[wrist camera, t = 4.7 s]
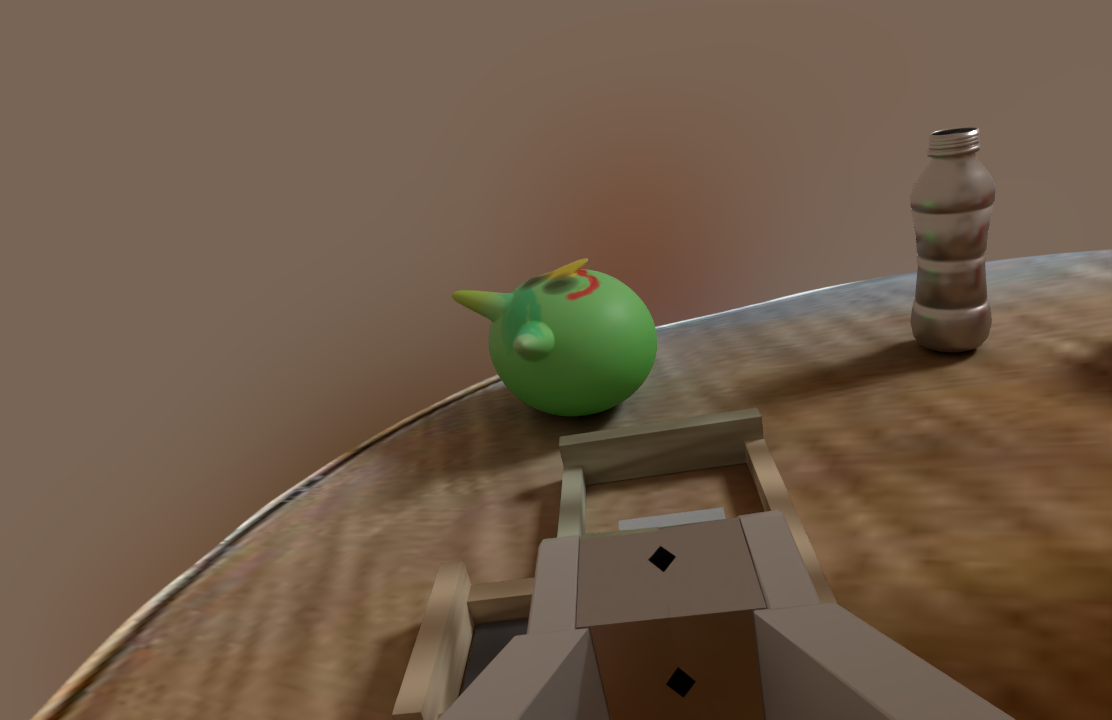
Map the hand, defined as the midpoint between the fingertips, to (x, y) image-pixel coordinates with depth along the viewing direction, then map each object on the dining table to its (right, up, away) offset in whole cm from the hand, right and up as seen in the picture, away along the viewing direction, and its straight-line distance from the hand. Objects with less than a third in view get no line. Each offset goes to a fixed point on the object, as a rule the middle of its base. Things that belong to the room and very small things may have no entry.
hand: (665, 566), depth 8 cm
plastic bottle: (+36, +4, +55) cm, 67 cm away
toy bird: (+1, -2, +60) cm, 60 cm away
